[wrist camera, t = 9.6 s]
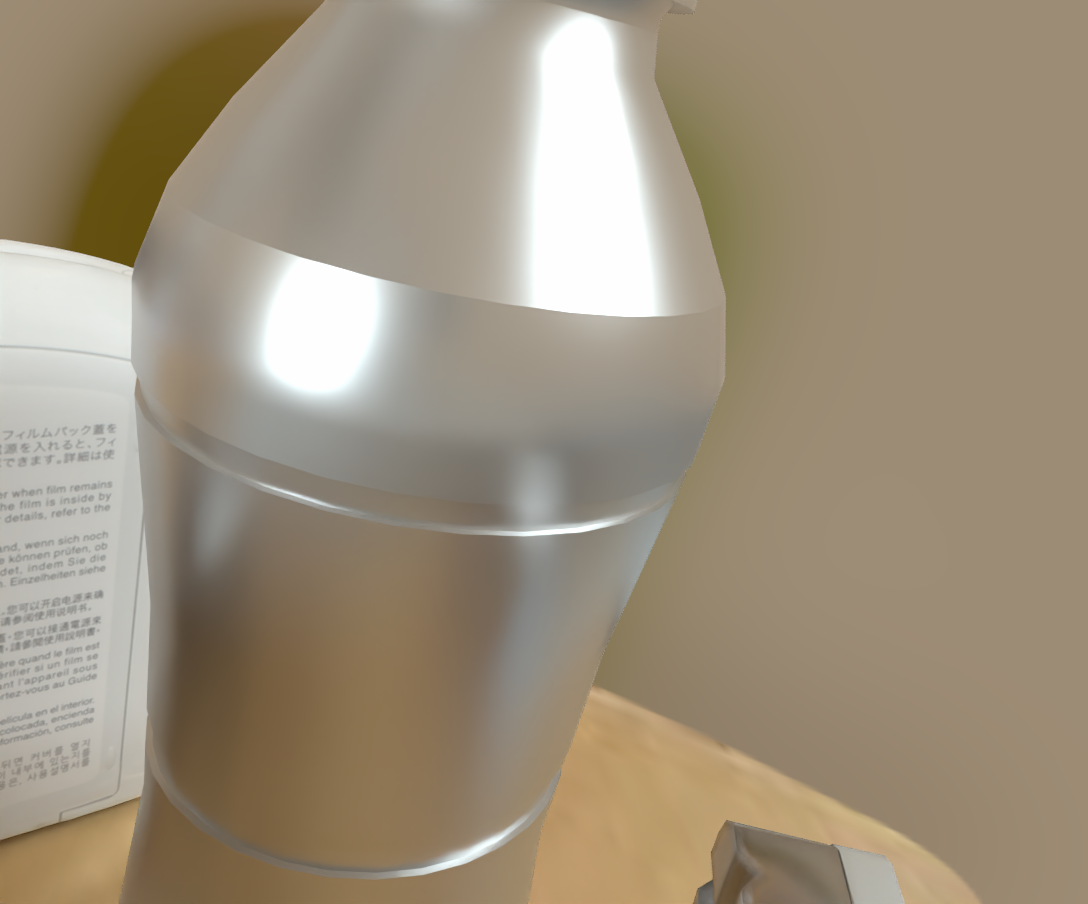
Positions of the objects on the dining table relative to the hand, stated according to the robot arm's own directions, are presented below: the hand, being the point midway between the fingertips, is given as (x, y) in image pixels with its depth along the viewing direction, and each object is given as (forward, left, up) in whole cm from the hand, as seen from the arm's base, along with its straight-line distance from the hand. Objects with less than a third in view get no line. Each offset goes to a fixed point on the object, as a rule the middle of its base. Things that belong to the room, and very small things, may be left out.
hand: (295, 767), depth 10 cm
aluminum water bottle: (-3, +1, -11) cm, 12 cm away
